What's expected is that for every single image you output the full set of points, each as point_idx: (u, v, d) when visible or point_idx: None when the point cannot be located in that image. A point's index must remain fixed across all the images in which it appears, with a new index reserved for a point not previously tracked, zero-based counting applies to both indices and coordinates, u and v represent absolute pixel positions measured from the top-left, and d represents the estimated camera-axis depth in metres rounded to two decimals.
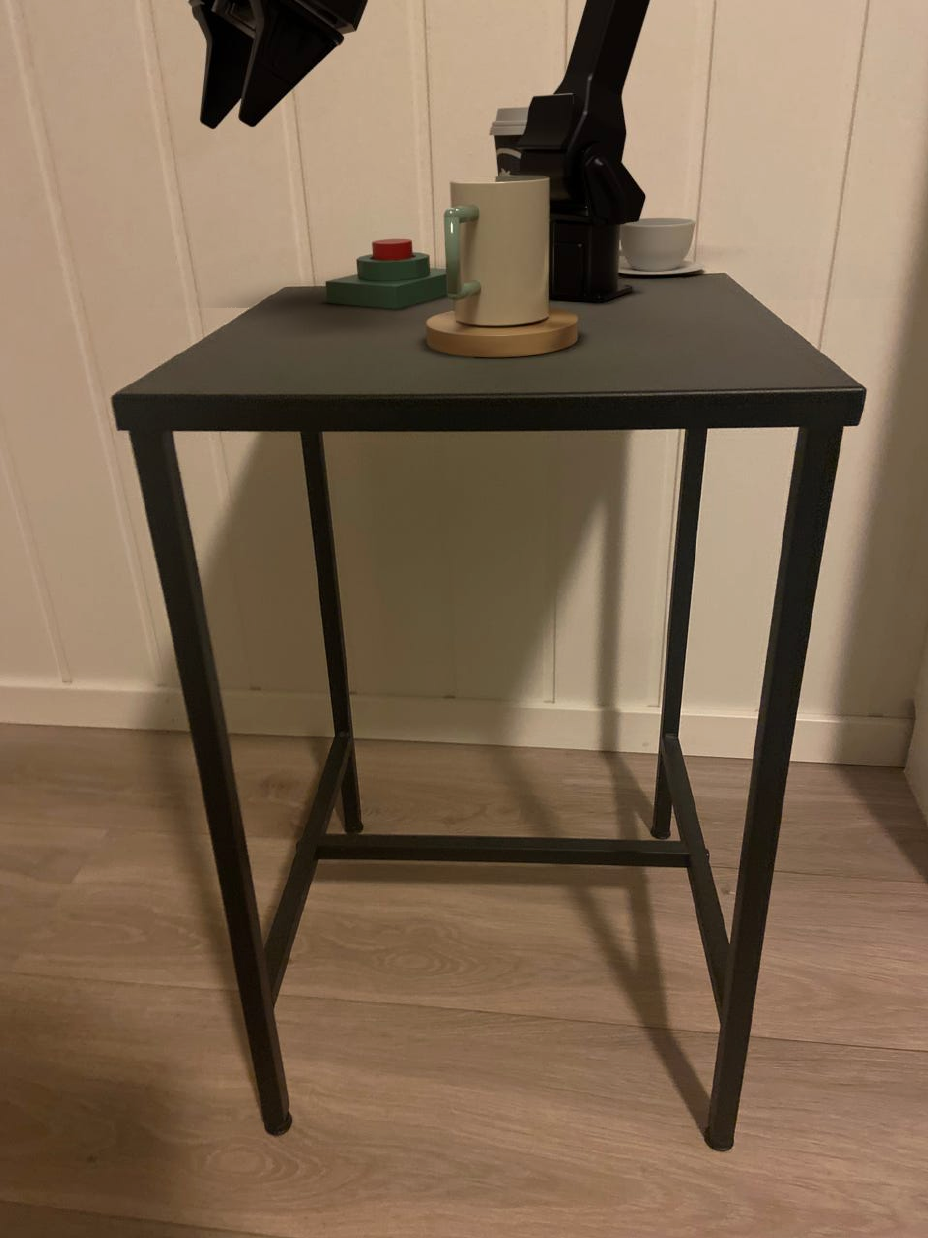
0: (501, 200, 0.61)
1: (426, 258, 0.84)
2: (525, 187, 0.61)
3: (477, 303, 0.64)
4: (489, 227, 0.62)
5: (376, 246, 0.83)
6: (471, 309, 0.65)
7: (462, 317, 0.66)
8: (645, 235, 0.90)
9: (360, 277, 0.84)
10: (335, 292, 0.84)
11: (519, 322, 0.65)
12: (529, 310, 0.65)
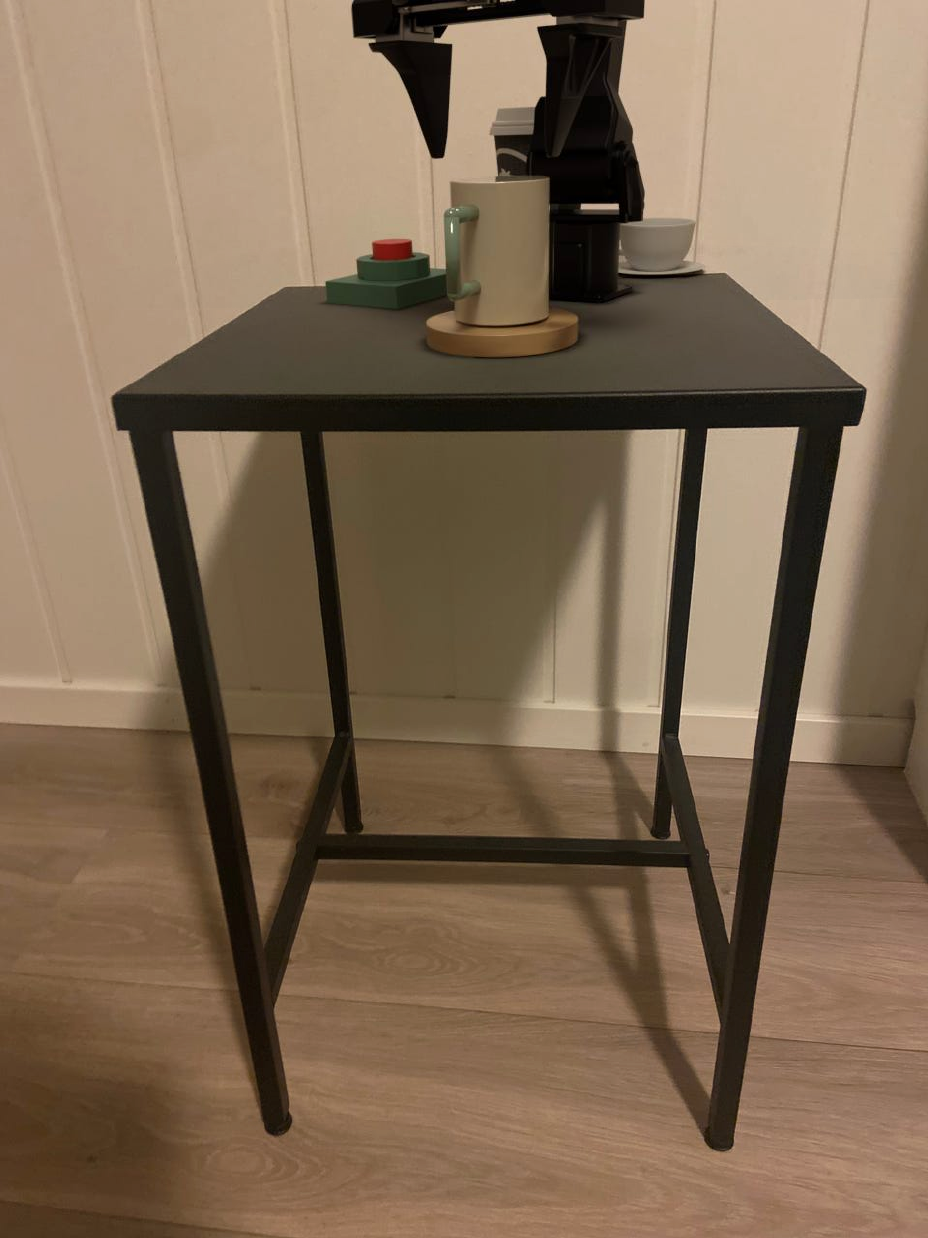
0: (501, 200, 0.61)
1: (426, 258, 0.84)
2: (525, 187, 0.61)
3: (477, 303, 0.64)
4: (489, 227, 0.62)
5: (376, 246, 0.83)
6: (471, 309, 0.65)
7: (462, 317, 0.66)
8: (645, 235, 0.90)
9: (360, 277, 0.84)
10: (335, 292, 0.84)
11: (519, 322, 0.65)
12: (529, 310, 0.65)
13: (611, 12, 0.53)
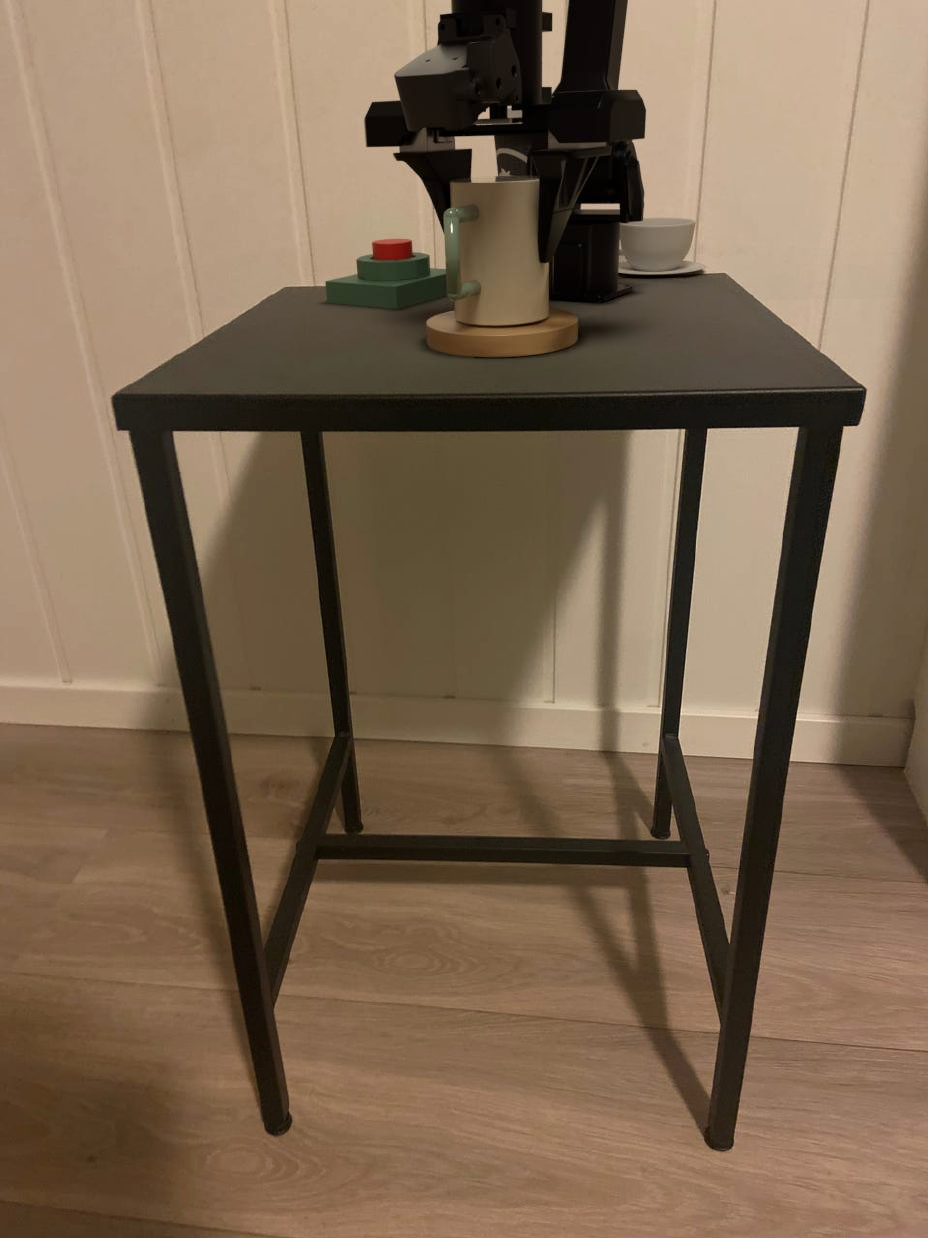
0: (501, 200, 0.61)
1: (426, 258, 0.84)
2: (525, 187, 0.61)
3: (477, 303, 0.64)
4: (489, 227, 0.62)
5: (376, 246, 0.83)
6: (471, 309, 0.65)
7: (462, 317, 0.66)
8: (645, 235, 0.90)
9: (360, 277, 0.84)
10: (335, 292, 0.84)
11: (519, 322, 0.65)
12: (529, 310, 0.65)
13: (615, 140, 0.56)
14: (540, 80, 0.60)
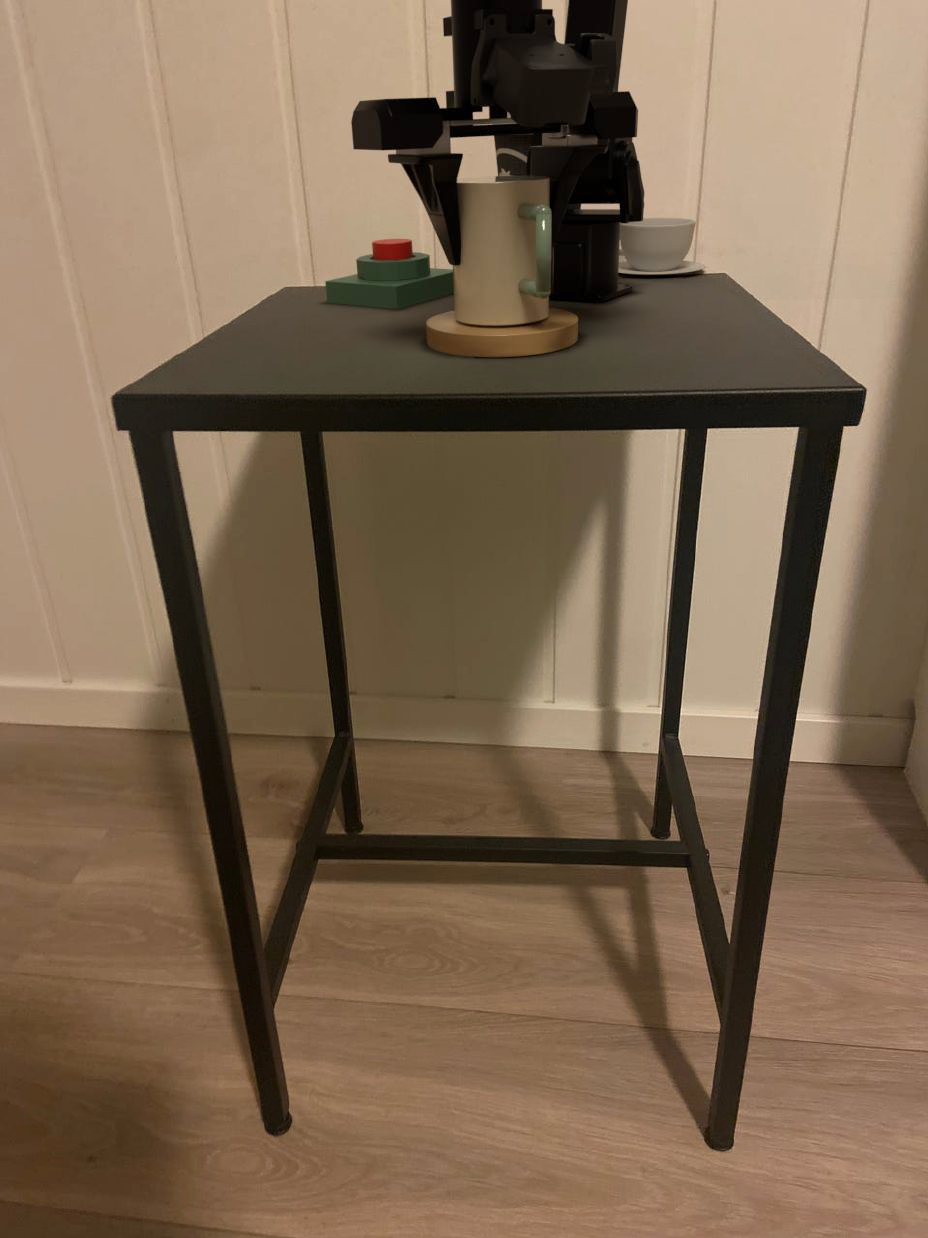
0: (544, 196, 0.62)
1: (426, 258, 0.84)
2: None
3: (526, 301, 0.64)
4: None
5: (376, 246, 0.83)
6: (520, 308, 0.64)
7: (506, 320, 0.64)
8: (645, 235, 0.90)
9: (360, 277, 0.84)
10: (335, 292, 0.84)
11: (548, 314, 0.67)
12: None
13: None
14: None
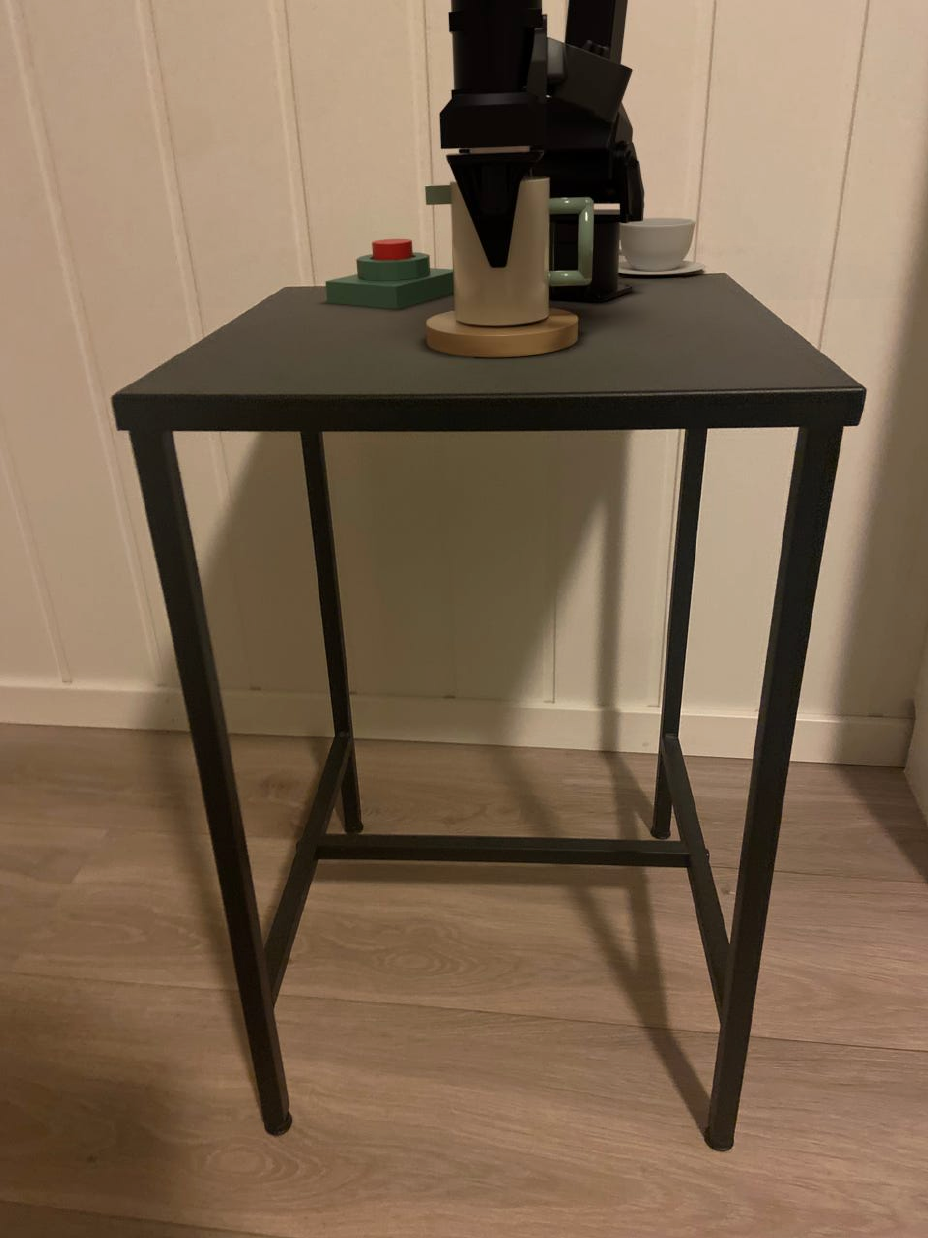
0: None
1: (426, 258, 0.84)
2: None
3: None
4: None
5: (376, 246, 0.83)
6: (548, 300, 0.66)
7: (545, 313, 0.66)
8: (645, 235, 0.90)
9: (360, 277, 0.84)
10: (335, 292, 0.84)
11: None
12: None
13: None
14: None
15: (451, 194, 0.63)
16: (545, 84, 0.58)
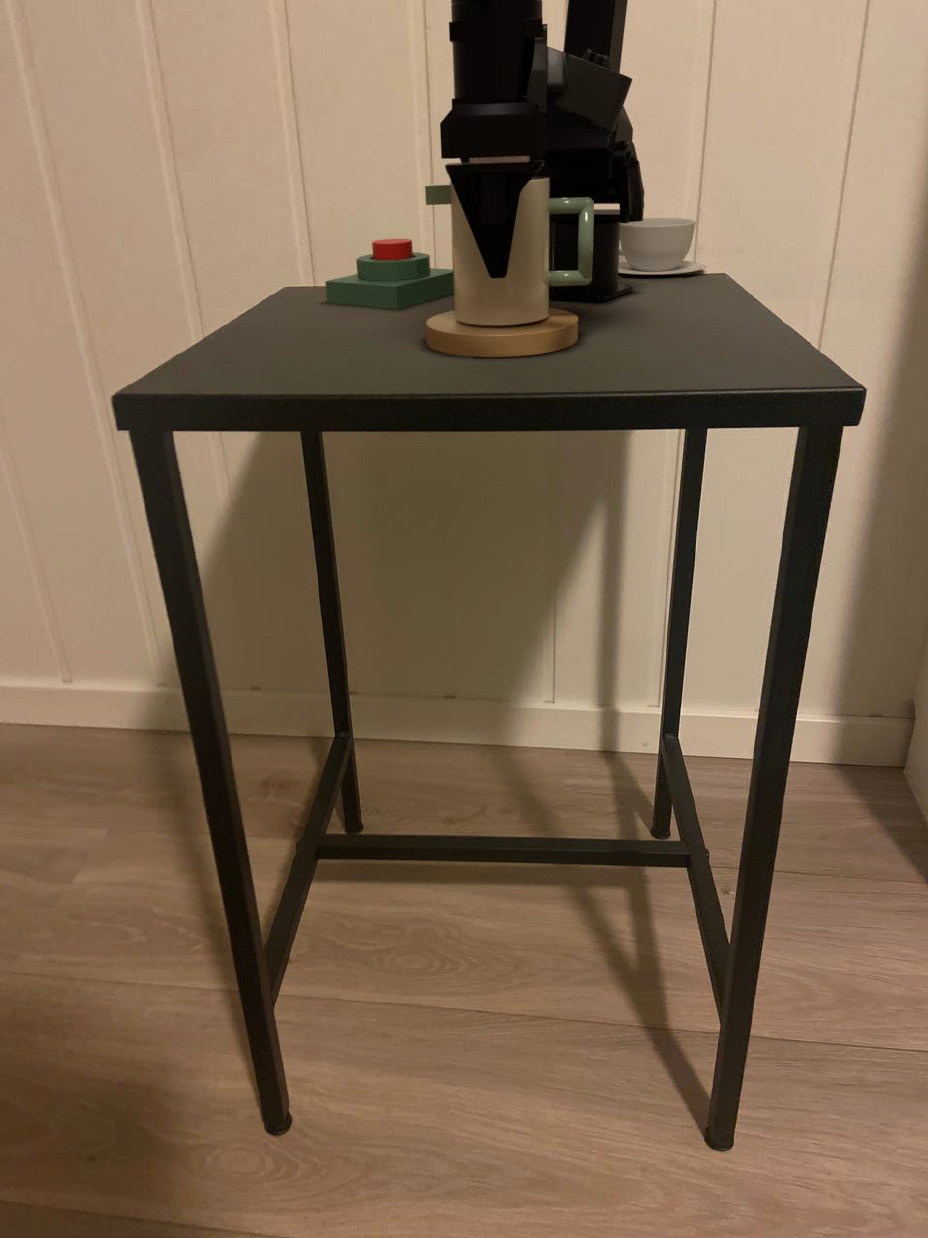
0: None
1: (426, 258, 0.84)
2: None
3: None
4: None
5: (376, 246, 0.83)
6: (548, 300, 0.66)
7: (545, 313, 0.66)
8: (645, 235, 0.90)
9: (360, 277, 0.84)
10: (335, 292, 0.84)
11: None
12: None
13: None
14: None
15: (451, 194, 0.63)
16: (545, 93, 0.58)
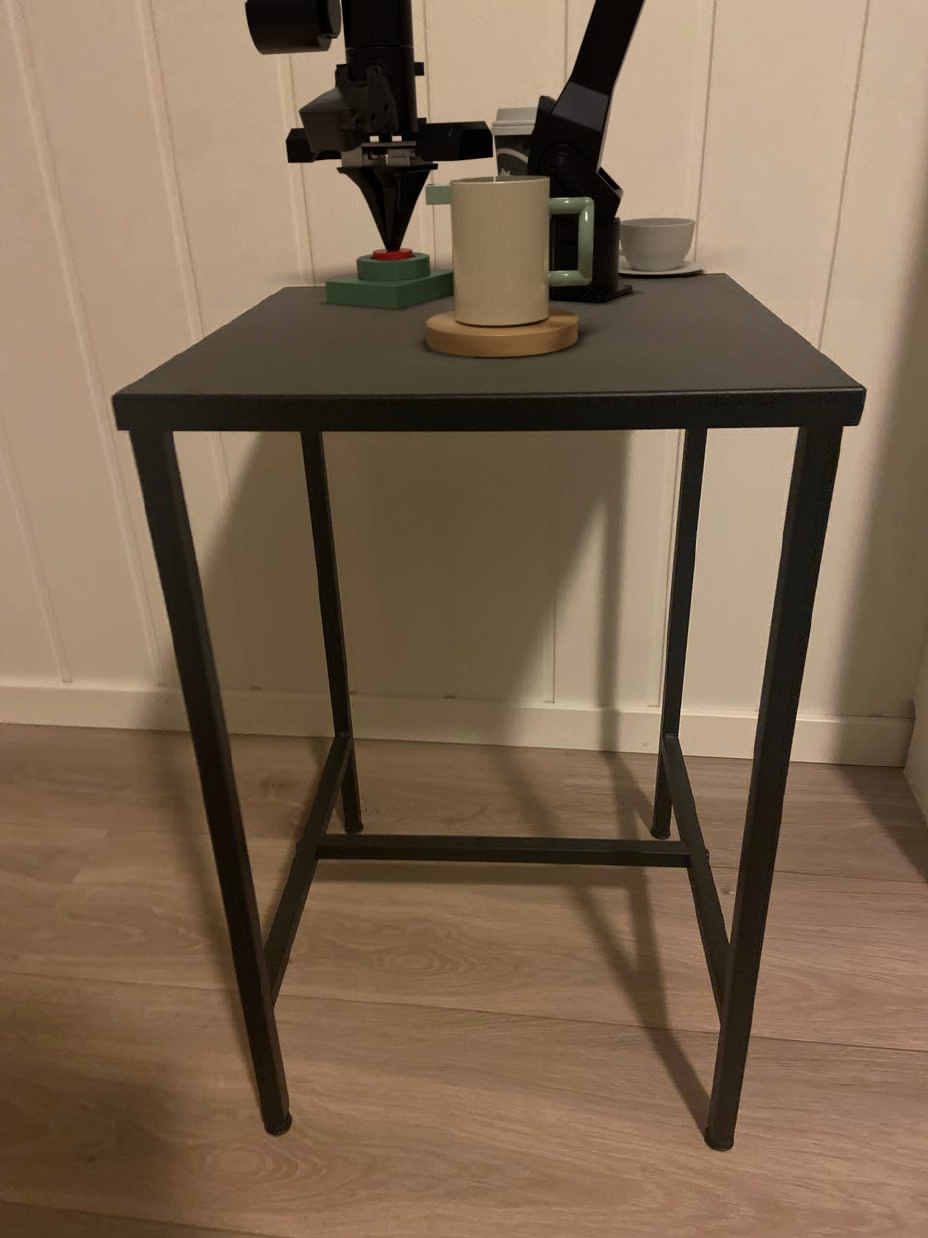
0: None
1: (426, 258, 0.84)
2: None
3: None
4: None
5: (377, 256, 0.84)
6: (548, 300, 0.66)
7: (545, 313, 0.66)
8: (645, 235, 0.90)
9: (360, 277, 0.84)
10: (335, 292, 0.84)
11: None
12: None
13: (465, 159, 0.75)
14: (414, 113, 0.79)
15: (451, 194, 0.63)
16: None
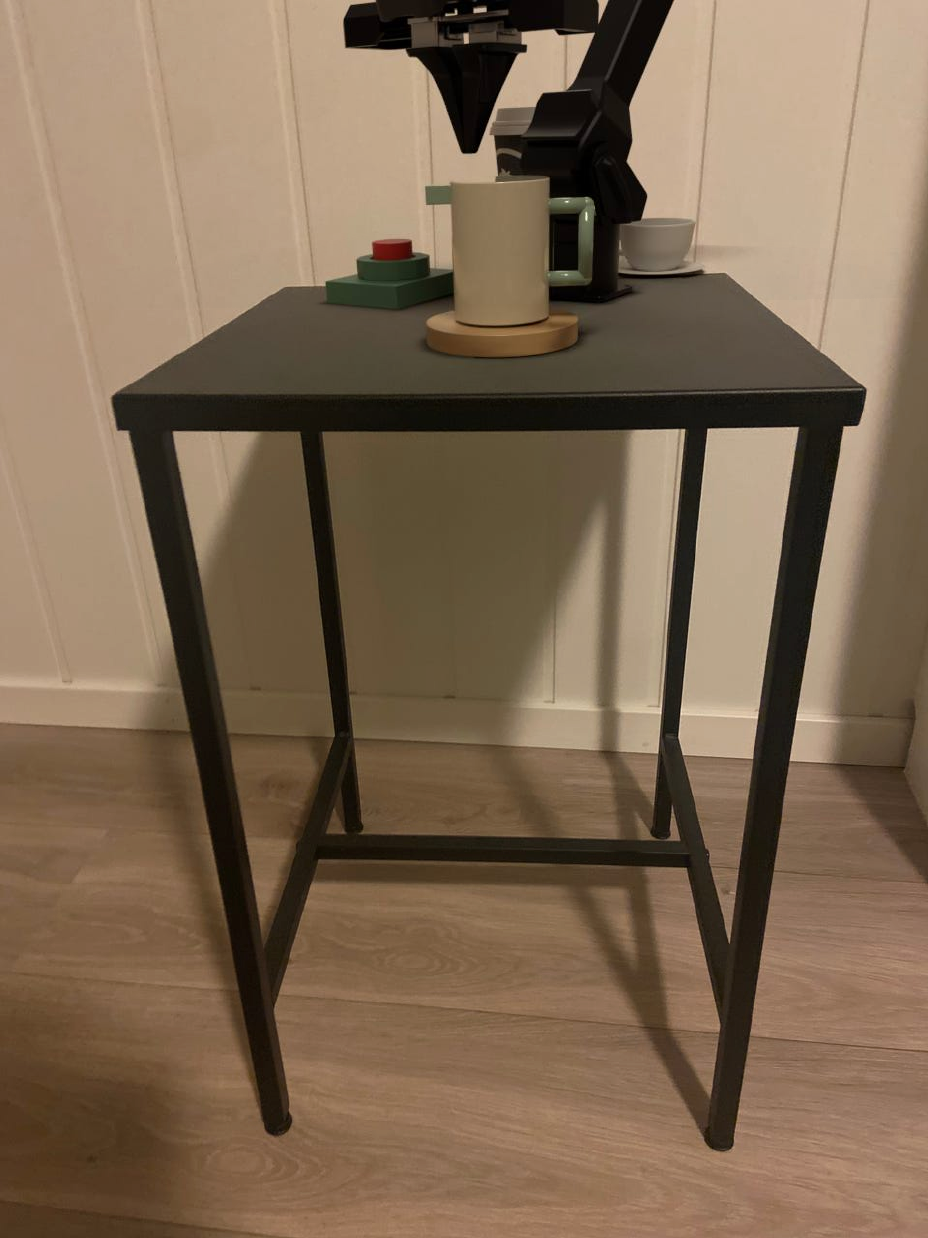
0: None
1: (426, 258, 0.84)
2: None
3: None
4: None
5: (376, 246, 0.83)
6: (548, 300, 0.66)
7: (545, 313, 0.66)
8: (645, 235, 0.90)
9: (360, 277, 0.84)
10: (335, 292, 0.84)
11: None
12: None
13: (569, 28, 0.62)
14: None
15: (451, 194, 0.63)
16: None
